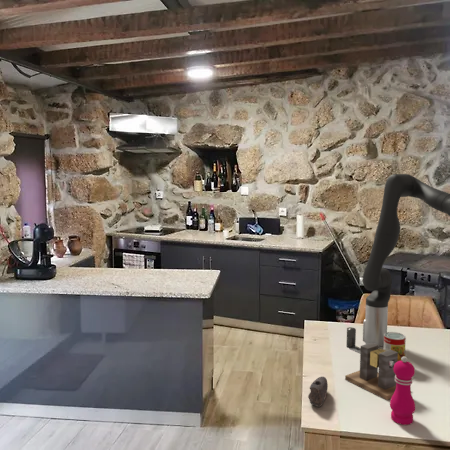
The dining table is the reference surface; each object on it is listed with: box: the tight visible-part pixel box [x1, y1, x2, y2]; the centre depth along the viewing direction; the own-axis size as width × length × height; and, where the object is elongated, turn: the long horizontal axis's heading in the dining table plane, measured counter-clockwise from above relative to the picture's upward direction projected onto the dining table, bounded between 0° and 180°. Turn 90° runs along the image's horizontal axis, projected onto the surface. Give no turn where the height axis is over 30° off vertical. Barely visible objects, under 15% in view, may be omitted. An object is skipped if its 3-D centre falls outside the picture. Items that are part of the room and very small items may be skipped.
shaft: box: [345, 326, 394, 367], centre depth 163 cm, size 20×3×8 cm, turn 33°
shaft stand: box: [344, 343, 398, 401], centre depth 160 cm, size 18×12×13 cm, turn 33°
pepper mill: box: [389, 355, 416, 426], centre depth 137 cm, size 7×7×20 cm
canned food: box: [383, 331, 407, 362], centre depth 176 cm, size 8×8×12 cm
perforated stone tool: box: [307, 376, 329, 408], centre depth 151 cm, size 15×5×7 cm, turn 154°
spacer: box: [370, 348, 385, 369], centre depth 159 cm, size 3×5×5 cm, turn 123°
